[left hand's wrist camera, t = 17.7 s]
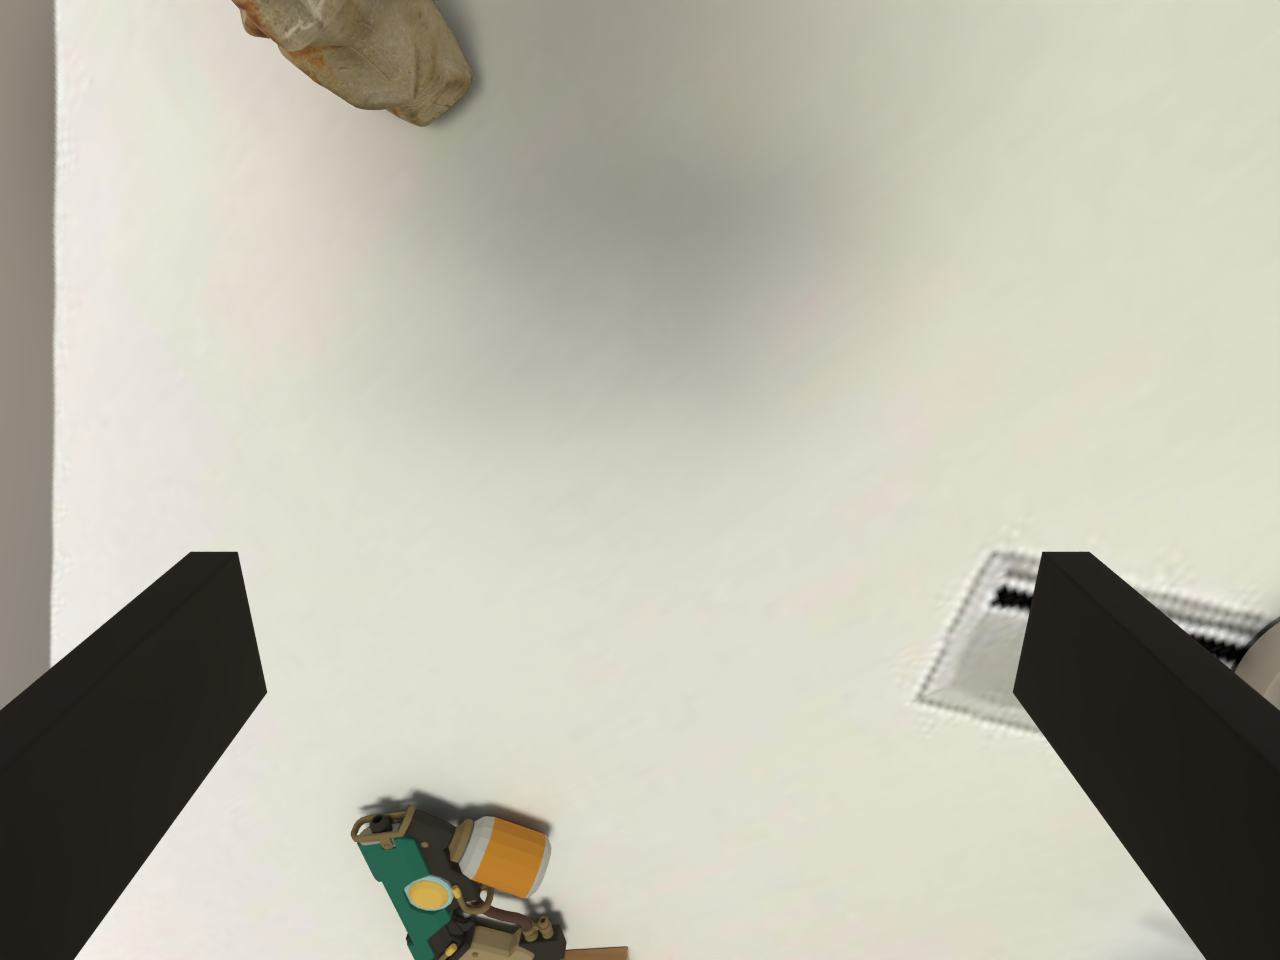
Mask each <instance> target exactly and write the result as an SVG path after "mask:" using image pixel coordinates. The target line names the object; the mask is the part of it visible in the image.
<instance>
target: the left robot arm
mask: <svg viewBox="0 0 1280 960" xmlns="http://www.w3.org/2000/svg"><path fill="white" fill-rule="evenodd" d="M266 693H267V689H266V684H265V680H264V675H263V670H262V665H261V661H260V656H259V651H258V646H257V642H256V637H255V632H254V627H253V623H252V618H251V613H250V608H249V604H248V599H247V594H246V589H245V584H244V580H243V575H242V570H241V565H240V561H239V556H238V552H190V553H189V554H187V555H186V556H185V557H184V558H183V559H181V560H180V561H179V562H178V563H177V564H175V565H174V566H173V567H172V568H171V569H169V570H168V571H167V572H166V573H165V574H163V575H162V576H161V577H160V578H159V579H157V580H156V581H155V582H154V583H153V584H151V585H150V586H149V587H148V588H147V589H145V590H144V591H143V592H142V593H141V594H139V595H138V596H137V597H136V598H135V599H133V600H132V601H131V602H130V603H129V604H127V605H126V606H125V607H124V608H123V609H121V610H120V611H119V612H118V613H117V614H115V615H114V616H113V617H112V618H111V619H109V620H108V621H107V622H106V623H105V624H103V625H102V626H101V627H100V628H99V629H97V630H96V631H95V632H94V633H93V634H91V635H90V636H89V637H88V638H87V639H85V640H84V641H83V642H82V643H81V644H79V645H78V646H77V647H76V648H75V649H73V650H72V651H71V652H70V653H69V654H67V655H66V656H65V657H64V658H63V659H61V660H60V661H59V662H58V663H57V664H55V665H54V666H53V667H52V668H51V669H49V670H48V671H47V672H46V673H45V674H43V675H42V676H41V677H40V678H39V679H37V680H36V681H35V682H34V683H33V684H31V685H30V686H29V687H28V688H27V689H25V690H24V691H23V692H22V693H21V694H19V695H18V696H17V697H16V698H15V699H13V700H12V701H11V702H10V703H9V704H7V705H6V706H5V707H4V708H3V709H1V710H0V960H74V959H75V957H76V956H77V954H78V953H79V952H80V950H81V949H82V948H83V946H84V945H85V943H86V942H87V941H88V939H89V938H90V937H91V935H92V934H93V932H94V931H95V930H96V928H97V927H98V925H99V924H100V923H101V921H102V920H103V919H104V917H105V916H106V914H107V913H108V912H109V910H110V909H111V908H112V906H113V905H114V903H115V902H116V901H117V899H118V898H119V896H120V895H121V894H122V892H123V891H124V890H125V888H126V887H127V885H128V884H129V883H130V881H131V880H132V878H133V877H134V876H135V874H136V873H137V872H138V870H139V869H140V867H141V866H142V865H143V863H144V862H145V861H146V859H147V858H148V856H149V855H150V854H151V852H152V851H153V849H154V848H155V847H156V845H157V844H158V843H159V841H160V840H161V838H162V837H163V836H164V834H165V833H166V832H167V830H168V829H169V827H170V826H171V825H172V823H173V822H174V820H175V819H176V818H177V816H178V815H179V814H180V812H181V811H182V809H183V808H184V807H185V805H186V804H187V803H188V801H189V800H190V798H191V797H192V796H193V794H194V793H195V791H196V790H197V789H198V787H199V786H200V785H201V783H202V782H203V780H204V779H205V778H206V776H207V775H208V774H209V772H210V771H211V769H212V768H213V767H214V765H215V764H216V762H217V761H218V760H219V758H220V757H221V756H222V754H223V753H224V751H225V750H226V749H227V747H228V746H229V745H230V743H231V742H232V740H233V739H234V738H235V736H236V735H237V733H238V732H239V731H240V729H241V728H242V727H243V725H244V724H245V722H246V721H247V720H248V718H249V717H250V716H251V714H252V713H253V711H254V710H255V709H256V707H257V706H258V704H259V703H260V702H261V700H262V699H263V698H264V696H265V695H266ZM1013 693H1014V695H1015V696H1016V698H1017V699H1018V700H1019V702H1020V703H1021V704H1022V706H1023V707H1024V709H1025V710H1026V711H1027V713H1028V714H1029V715H1030V717H1031V718H1032V720H1033V721H1034V722H1035V724H1036V725H1037V727H1038V728H1039V729H1040V731H1041V732H1042V733H1043V735H1044V736H1045V738H1046V739H1047V740H1048V742H1049V743H1050V745H1051V746H1052V747H1053V749H1054V750H1055V751H1056V753H1057V754H1058V756H1059V757H1060V758H1061V760H1062V761H1063V762H1064V764H1065V765H1066V767H1067V768H1068V769H1069V771H1070V772H1071V774H1072V775H1073V776H1074V778H1075V779H1076V780H1077V782H1078V783H1079V785H1080V786H1081V787H1082V789H1083V790H1084V791H1085V793H1086V794H1087V796H1088V797H1089V798H1090V800H1091V801H1092V803H1093V804H1094V805H1095V807H1096V808H1097V809H1098V811H1099V812H1100V814H1101V815H1102V816H1103V818H1104V819H1105V820H1106V822H1107V823H1108V825H1109V826H1110V827H1111V829H1112V830H1113V832H1114V833H1115V834H1116V836H1117V837H1118V838H1119V840H1120V841H1121V843H1122V844H1123V845H1124V847H1125V848H1126V849H1127V851H1128V852H1129V854H1130V855H1131V856H1132V858H1133V859H1134V861H1135V862H1136V863H1137V865H1138V866H1139V867H1140V869H1141V870H1142V872H1143V873H1144V874H1145V876H1146V877H1147V878H1148V880H1149V881H1150V883H1151V884H1152V885H1153V887H1154V888H1155V890H1156V891H1157V892H1158V894H1159V895H1160V896H1161V898H1162V899H1163V901H1164V902H1165V903H1166V905H1167V906H1168V908H1169V909H1170V910H1171V912H1172V913H1173V914H1174V916H1175V917H1176V919H1177V920H1178V921H1179V923H1180V924H1181V925H1182V927H1183V928H1184V930H1185V931H1186V932H1187V934H1188V935H1189V937H1190V938H1191V939H1192V941H1193V942H1194V943H1195V945H1196V946H1197V948H1198V949H1199V950H1200V952H1201V953H1202V954H1203V956H1204V957H1205V959H1206V960H1280V710H1279V709H1277V708H1276V707H1275V706H1274V705H1273V704H1271V703H1270V702H1269V701H1268V700H1267V699H1265V698H1264V697H1263V696H1262V695H1261V694H1259V693H1258V692H1257V691H1256V690H1255V689H1253V688H1252V687H1251V686H1250V685H1249V684H1247V683H1246V682H1245V681H1244V680H1243V679H1241V678H1240V677H1239V676H1238V675H1237V674H1235V673H1234V672H1233V671H1232V670H1231V669H1229V668H1228V667H1227V666H1226V665H1225V664H1223V663H1222V662H1221V661H1220V660H1219V659H1217V658H1216V657H1215V656H1214V655H1213V654H1211V653H1210V652H1209V651H1208V650H1207V649H1205V648H1204V647H1203V646H1202V645H1201V644H1199V643H1198V642H1197V641H1196V640H1195V639H1193V638H1192V637H1191V636H1190V635H1189V634H1187V633H1186V632H1185V631H1184V630H1183V629H1181V628H1180V627H1179V626H1178V625H1177V624H1175V623H1174V622H1173V621H1172V620H1171V619H1169V618H1168V617H1167V616H1166V615H1165V614H1163V613H1162V612H1161V611H1160V610H1159V609H1157V608H1156V607H1155V606H1154V605H1153V604H1151V603H1150V602H1149V601H1148V600H1147V599H1145V598H1144V597H1143V596H1142V595H1141V594H1139V593H1138V592H1137V591H1136V590H1135V589H1133V588H1132V587H1131V586H1130V585H1129V584H1127V583H1126V582H1125V581H1124V580H1123V579H1121V578H1120V577H1119V576H1118V575H1117V574H1115V573H1114V572H1113V571H1112V570H1111V569H1109V568H1108V567H1107V566H1106V565H1105V564H1103V563H1102V562H1101V561H1100V560H1099V559H1097V558H1096V557H1095V556H1094V555H1093V554H1091V553H1090V552H1042V556H1041V561H1040V565H1039V570H1038V575H1037V580H1036V584H1035V589H1034V594H1033V599H1032V604H1031V608H1030V613H1029V618H1028V623H1027V627H1026V632H1025V637H1024V642H1023V646H1022V651H1021V656H1020V661H1019V665H1018V670H1017V675H1016V680H1015V684H1014V689H1013Z"/></svg>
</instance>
